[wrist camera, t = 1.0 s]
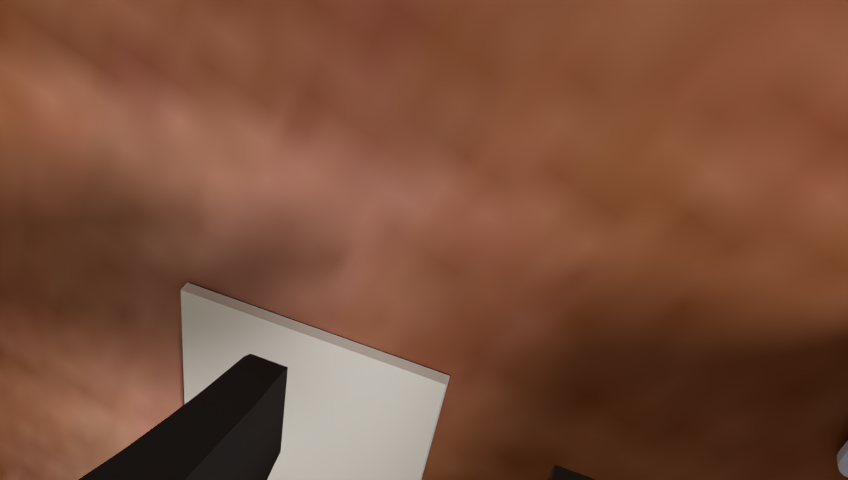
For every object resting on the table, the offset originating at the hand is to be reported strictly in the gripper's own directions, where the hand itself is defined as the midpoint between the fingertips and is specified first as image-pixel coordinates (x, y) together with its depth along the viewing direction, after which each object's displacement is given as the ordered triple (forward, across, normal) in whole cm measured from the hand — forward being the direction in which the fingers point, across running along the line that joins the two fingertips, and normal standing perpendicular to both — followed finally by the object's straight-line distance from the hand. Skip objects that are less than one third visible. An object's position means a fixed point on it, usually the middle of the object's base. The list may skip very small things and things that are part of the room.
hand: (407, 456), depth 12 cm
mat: (+9, +5, +18) cm, 21 cm away
